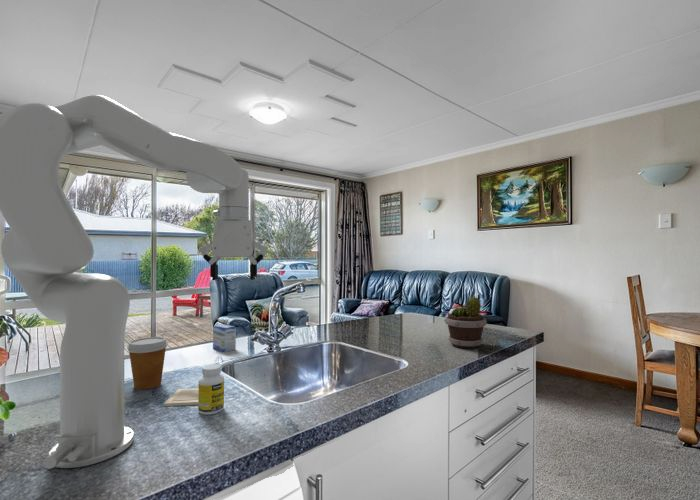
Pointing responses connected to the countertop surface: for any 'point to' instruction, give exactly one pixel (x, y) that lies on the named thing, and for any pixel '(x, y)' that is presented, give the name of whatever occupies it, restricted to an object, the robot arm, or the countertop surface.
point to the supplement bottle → (211, 390)
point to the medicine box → (224, 337)
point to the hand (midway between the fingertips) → (234, 279)
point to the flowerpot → (466, 324)
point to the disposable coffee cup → (147, 361)
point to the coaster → (183, 397)
